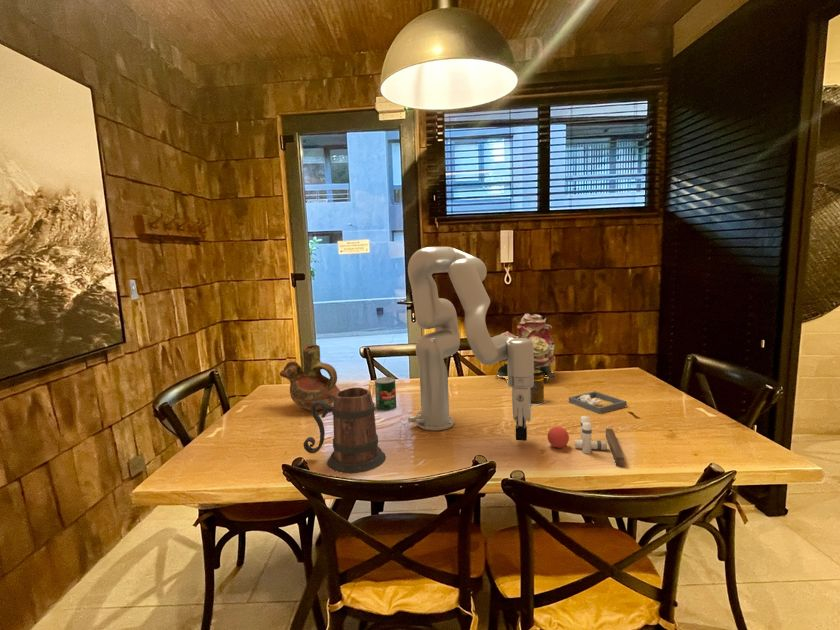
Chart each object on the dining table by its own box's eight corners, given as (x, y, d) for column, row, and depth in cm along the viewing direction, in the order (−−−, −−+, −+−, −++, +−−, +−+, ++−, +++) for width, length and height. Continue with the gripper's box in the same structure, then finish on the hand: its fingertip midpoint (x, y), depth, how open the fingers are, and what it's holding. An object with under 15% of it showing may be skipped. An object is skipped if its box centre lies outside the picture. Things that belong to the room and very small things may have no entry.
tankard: (389, 446, 138) (386, 383, 135) (381, 473, 121) (377, 401, 118) (314, 447, 139) (309, 384, 137) (296, 474, 123) (290, 403, 120)
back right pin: (586, 454, 127) (587, 425, 126) (580, 451, 129) (580, 423, 128) (593, 452, 128) (593, 424, 127) (586, 449, 130) (586, 421, 129)
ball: (568, 440, 127) (549, 448, 129) (574, 445, 132) (555, 452, 134) (560, 421, 131) (541, 429, 133) (566, 426, 135) (548, 433, 137)
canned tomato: (387, 412, 168) (385, 384, 166) (371, 408, 172) (370, 381, 171) (400, 406, 174) (399, 378, 172) (385, 403, 179) (384, 376, 177)
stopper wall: (616, 466, 120) (616, 457, 119) (605, 436, 139) (605, 428, 139) (624, 466, 119) (624, 457, 119) (612, 436, 138) (612, 428, 138)
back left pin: (585, 447, 132) (585, 419, 131) (578, 444, 134) (578, 416, 133) (591, 445, 133) (591, 417, 132) (584, 442, 135) (585, 415, 134)
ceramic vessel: (293, 400, 187) (288, 340, 184) (351, 402, 181) (348, 341, 177) (270, 414, 171) (264, 349, 167) (334, 418, 164) (329, 350, 161)
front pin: (575, 445, 130) (607, 447, 128) (575, 437, 132) (606, 439, 129) (575, 449, 132) (606, 451, 130) (574, 441, 133) (605, 443, 131)
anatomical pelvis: (603, 396, 165) (590, 398, 162) (602, 407, 165) (589, 409, 162) (586, 390, 172) (573, 392, 169) (585, 401, 172) (572, 403, 169)
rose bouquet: (485, 376, 210) (484, 313, 206) (538, 368, 221) (537, 308, 217) (516, 391, 187) (515, 320, 183) (573, 381, 197) (573, 313, 193)
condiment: (548, 401, 173) (548, 370, 172) (536, 406, 168) (536, 375, 166) (531, 397, 179) (531, 367, 177) (519, 402, 173) (519, 372, 171)
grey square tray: (599, 413, 158) (599, 408, 157) (568, 402, 171) (568, 397, 170) (626, 406, 164) (626, 401, 163) (594, 396, 177) (594, 391, 176)
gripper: (533, 388, 125) (533, 451, 127) (534, 373, 139) (534, 430, 142) (506, 387, 127) (506, 449, 129) (509, 373, 141) (510, 429, 144)
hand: (521, 439), depth 136 cm, fingers closed
